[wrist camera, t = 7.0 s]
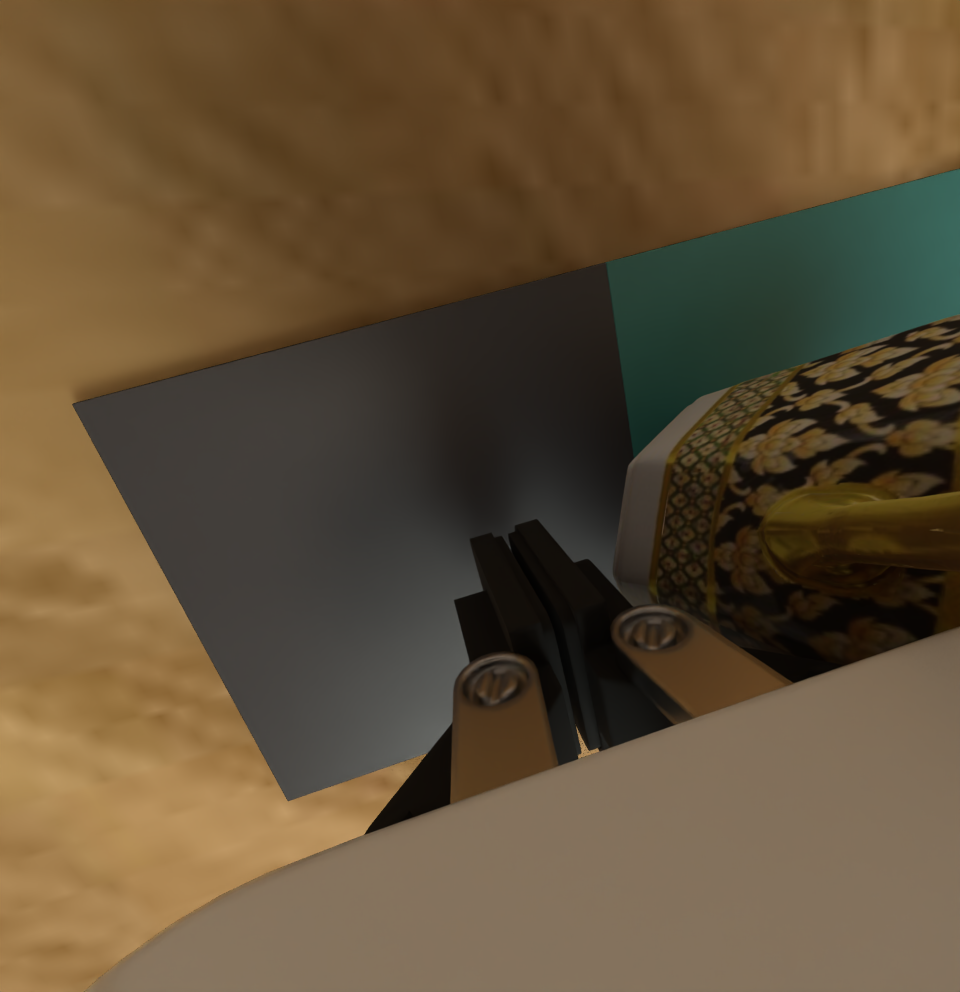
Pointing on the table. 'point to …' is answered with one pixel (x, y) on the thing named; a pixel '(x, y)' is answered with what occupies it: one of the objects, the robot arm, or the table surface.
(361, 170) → the table surface
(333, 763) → the plate
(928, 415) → the ceramic cup
